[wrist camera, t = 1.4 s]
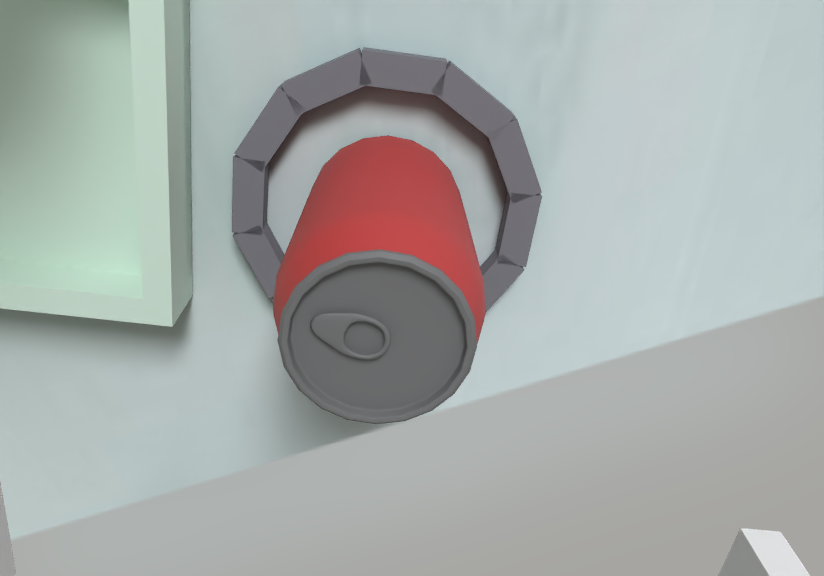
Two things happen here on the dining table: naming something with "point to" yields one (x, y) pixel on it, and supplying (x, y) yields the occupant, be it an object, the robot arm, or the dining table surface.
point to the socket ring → (396, 75)
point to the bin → (96, 158)
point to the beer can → (380, 285)
